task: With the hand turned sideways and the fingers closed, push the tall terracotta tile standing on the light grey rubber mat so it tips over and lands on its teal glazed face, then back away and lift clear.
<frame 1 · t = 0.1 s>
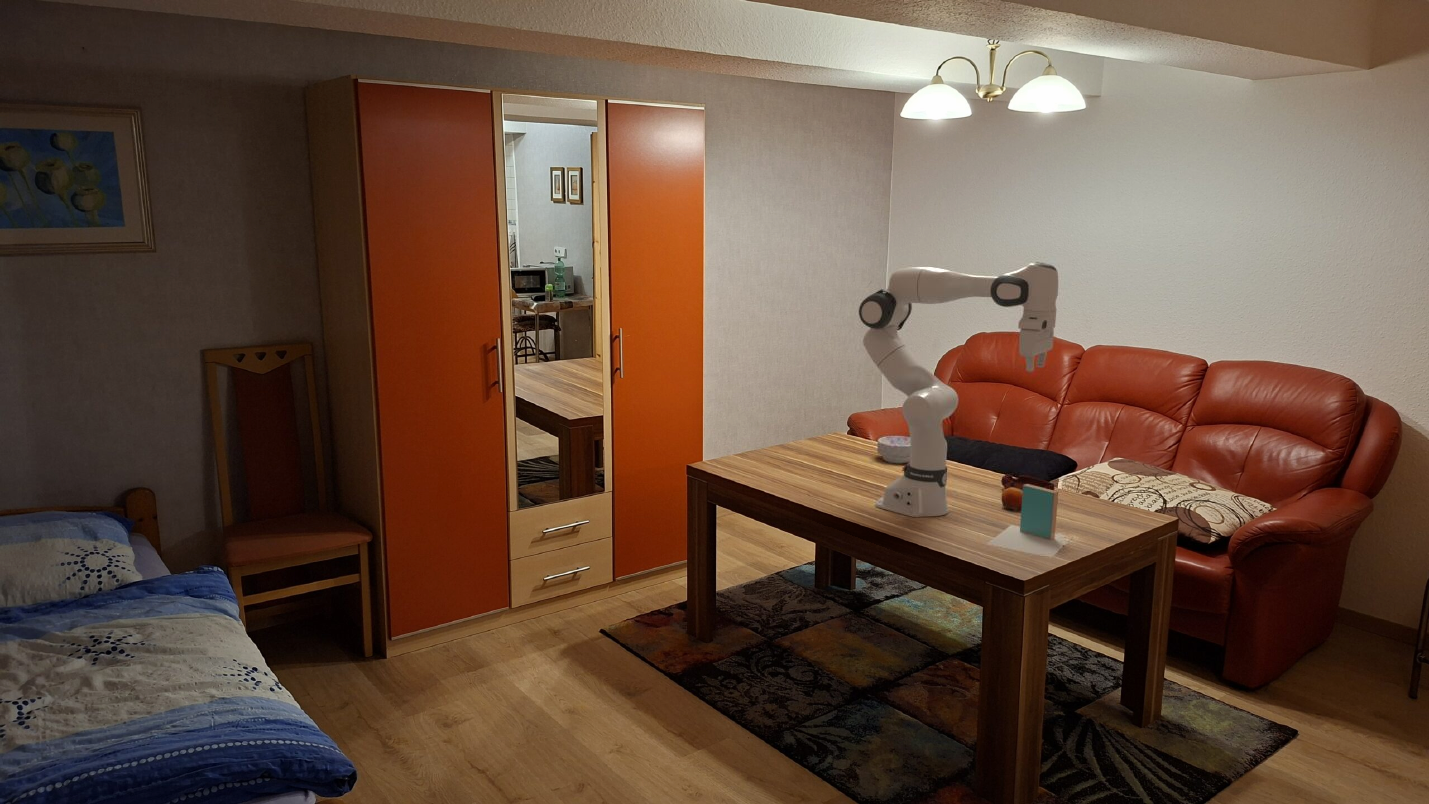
hand: (1035, 368, 273), 48 cm above the table, tool pointing down, fingers open, 8 cm apart
white patterned bowl: (897, 461, 359), on the table
ashtray: (1027, 497, 316), on the table
mat: (1030, 541, 271), on the table
fruit: (1013, 509, 301), on the table
tile: (1036, 534, 276), resting on mat
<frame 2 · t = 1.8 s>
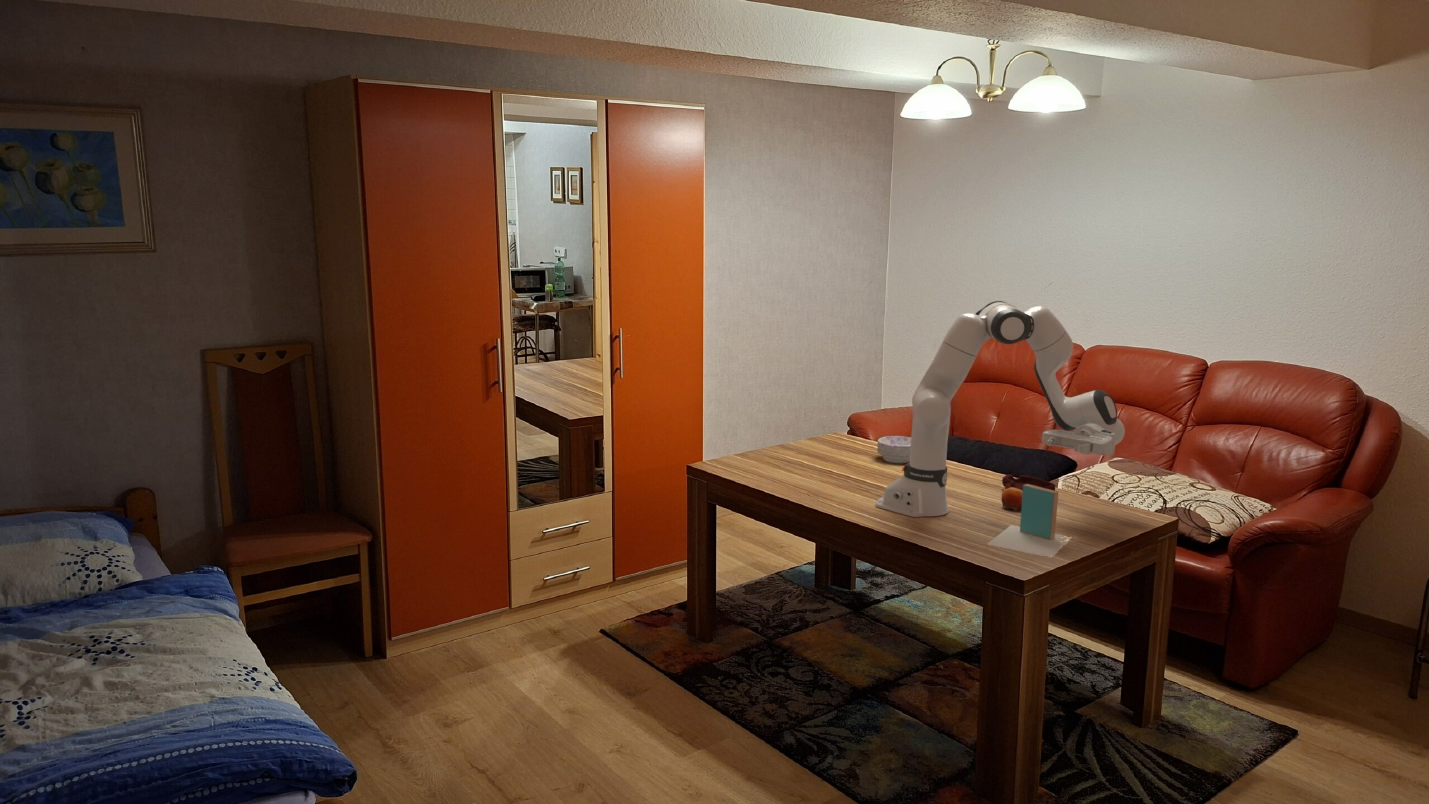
hand: (1062, 446, 277), 25 cm above the table, tool horizontal, fingers open, 7 cm apart
nothing on the table moved.
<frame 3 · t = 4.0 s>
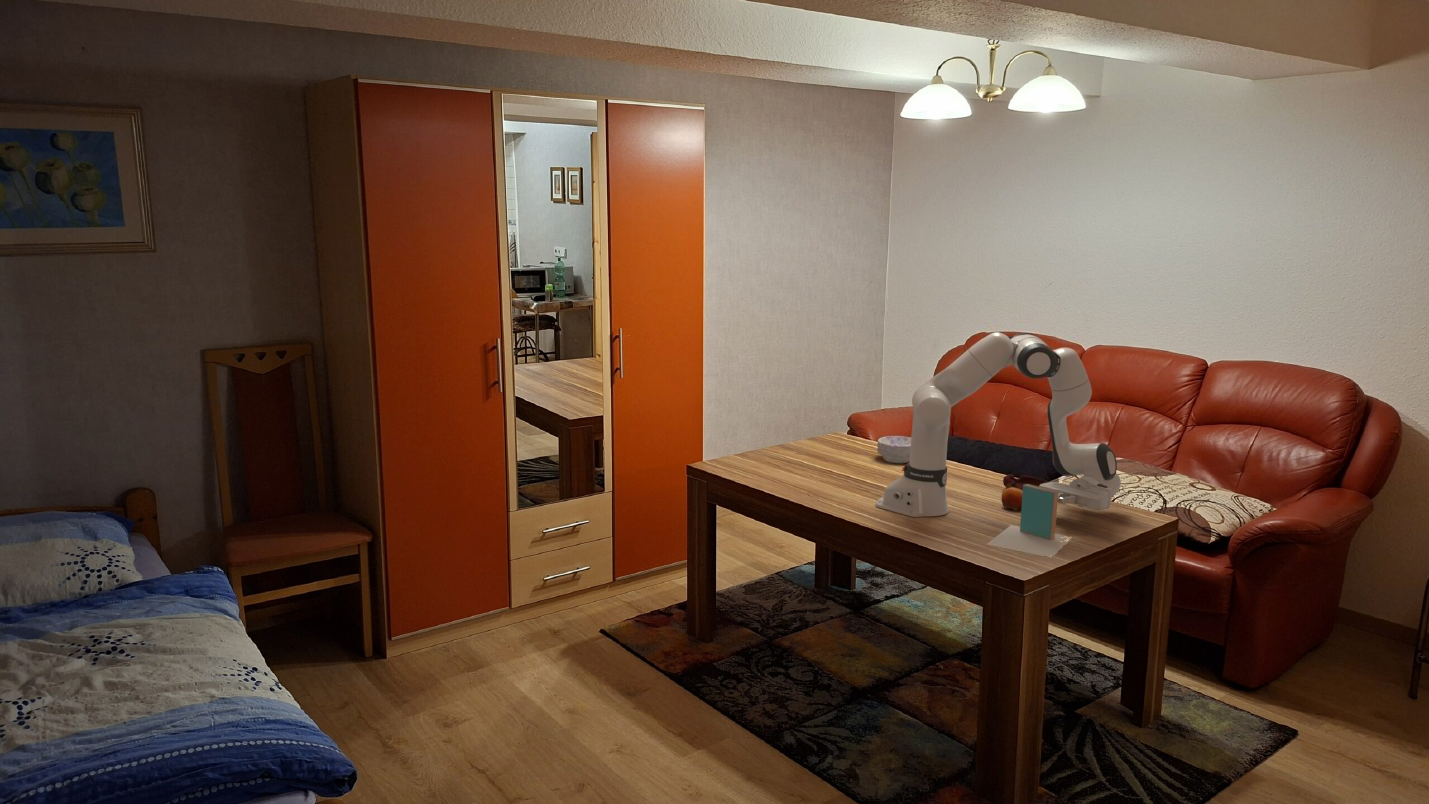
hand: (1059, 500, 280), 9 cm above the table, tool horizontal, fingers closed
nothing on the table moved.
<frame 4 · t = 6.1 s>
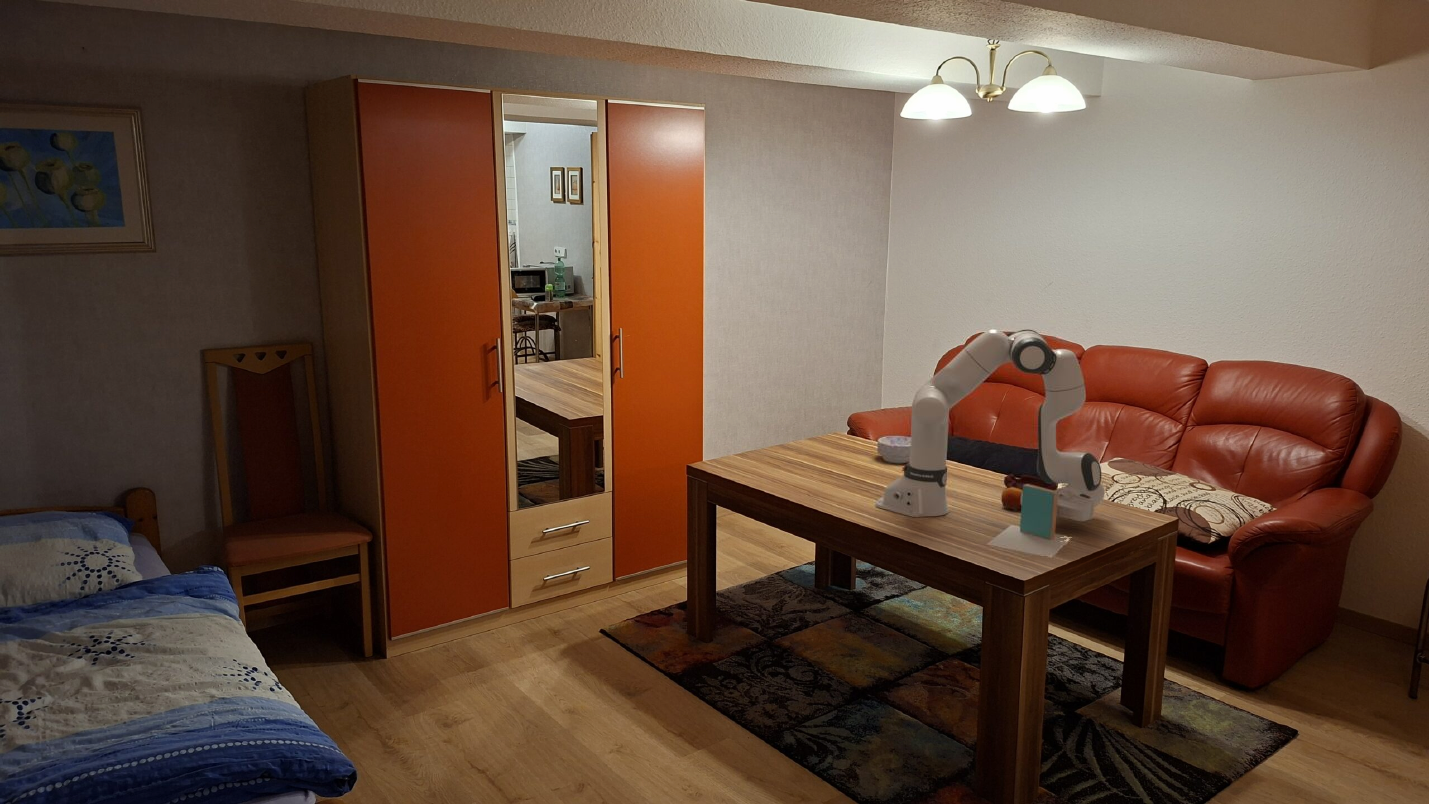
hand: (1040, 510, 275), 7 cm above the table, tool horizontal, fingers closed, pressing on tile
tile: (1036, 534, 276), resting on mat, touching gripper
everything else where it was.
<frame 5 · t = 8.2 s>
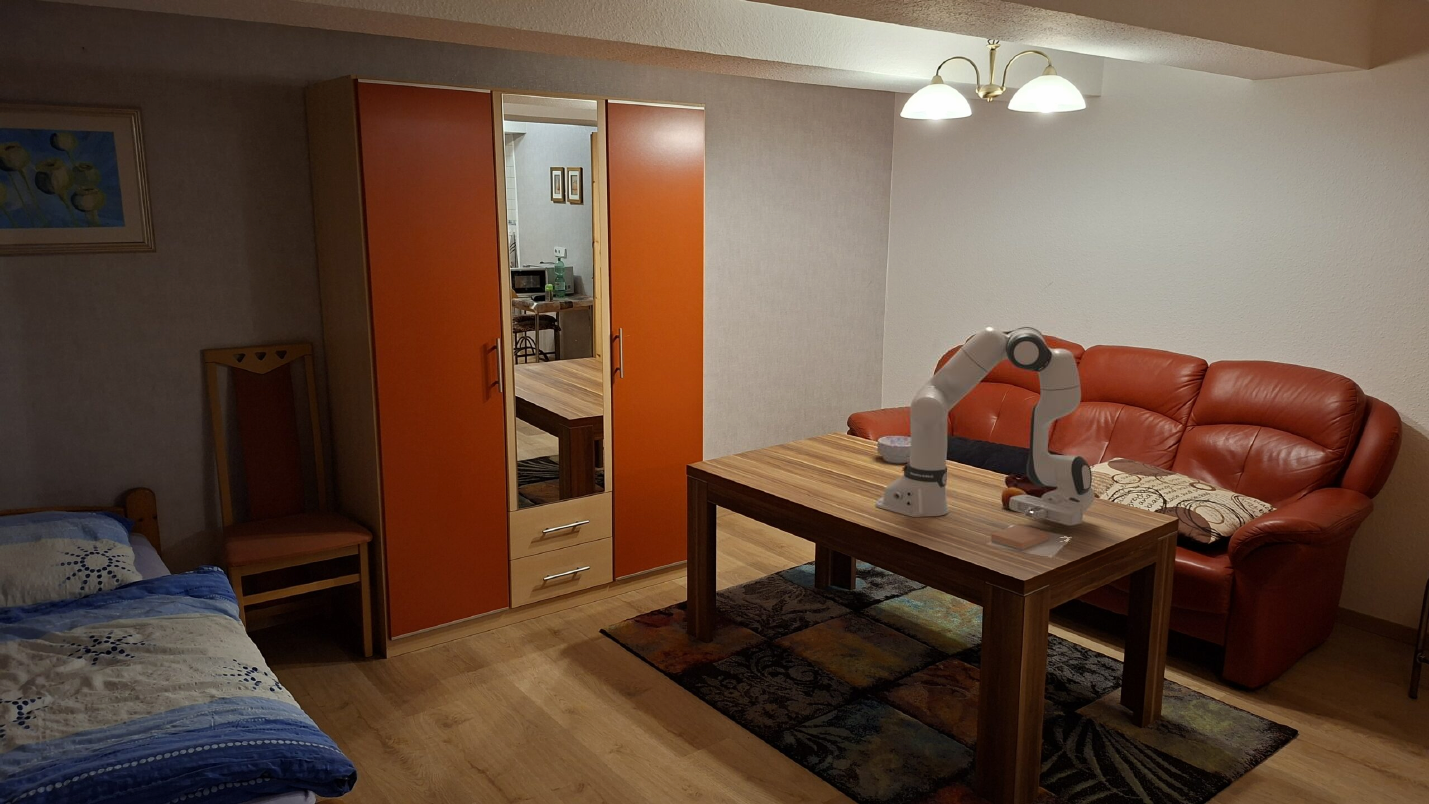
hand: (1029, 514, 271), 8 cm above the table, tool horizontal, fingers closed
tile: (1034, 531, 275), point 2 cm above the table, tilted 90°, touching mat
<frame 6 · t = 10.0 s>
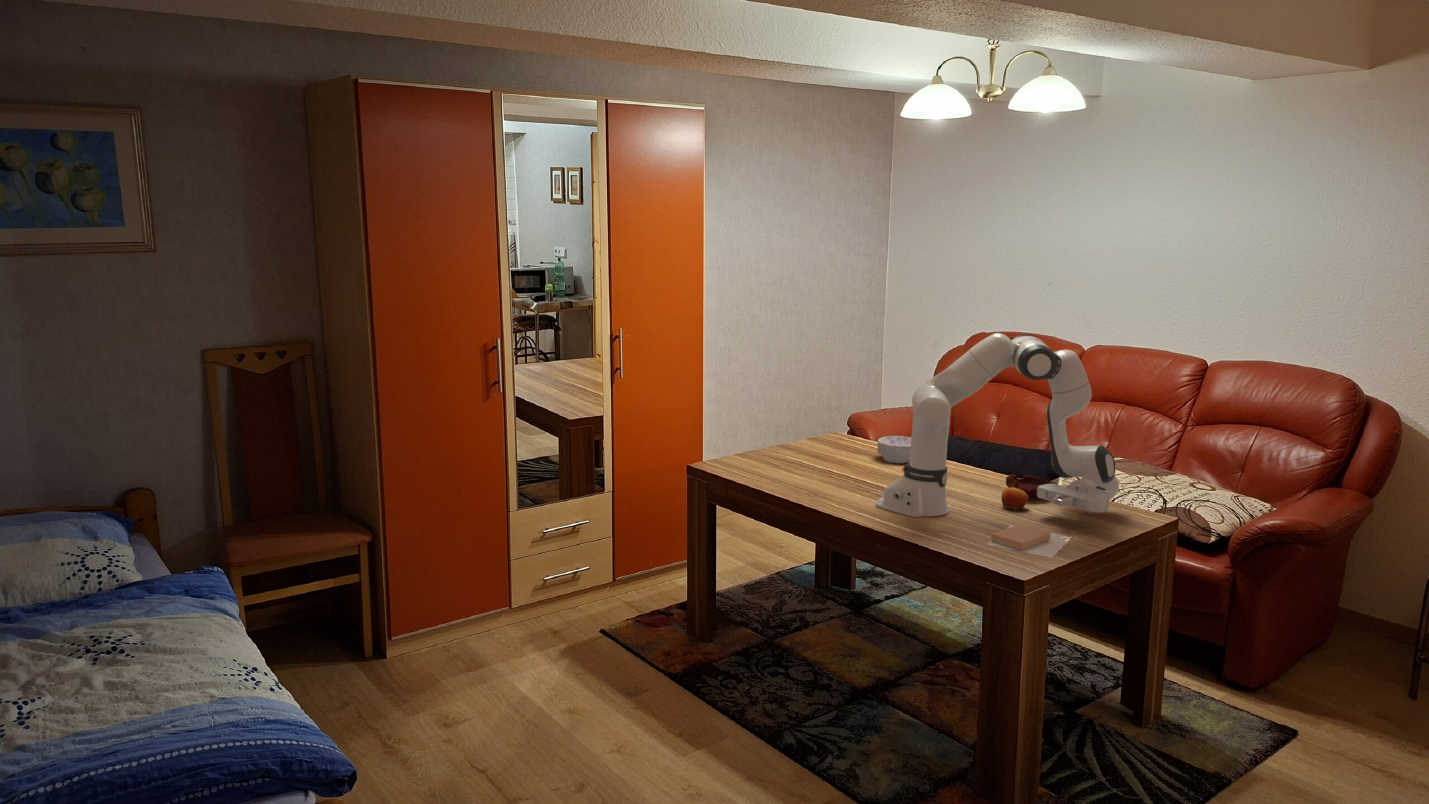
hand: (1057, 502, 280), 8 cm above the table, tool horizontal, fingers closed
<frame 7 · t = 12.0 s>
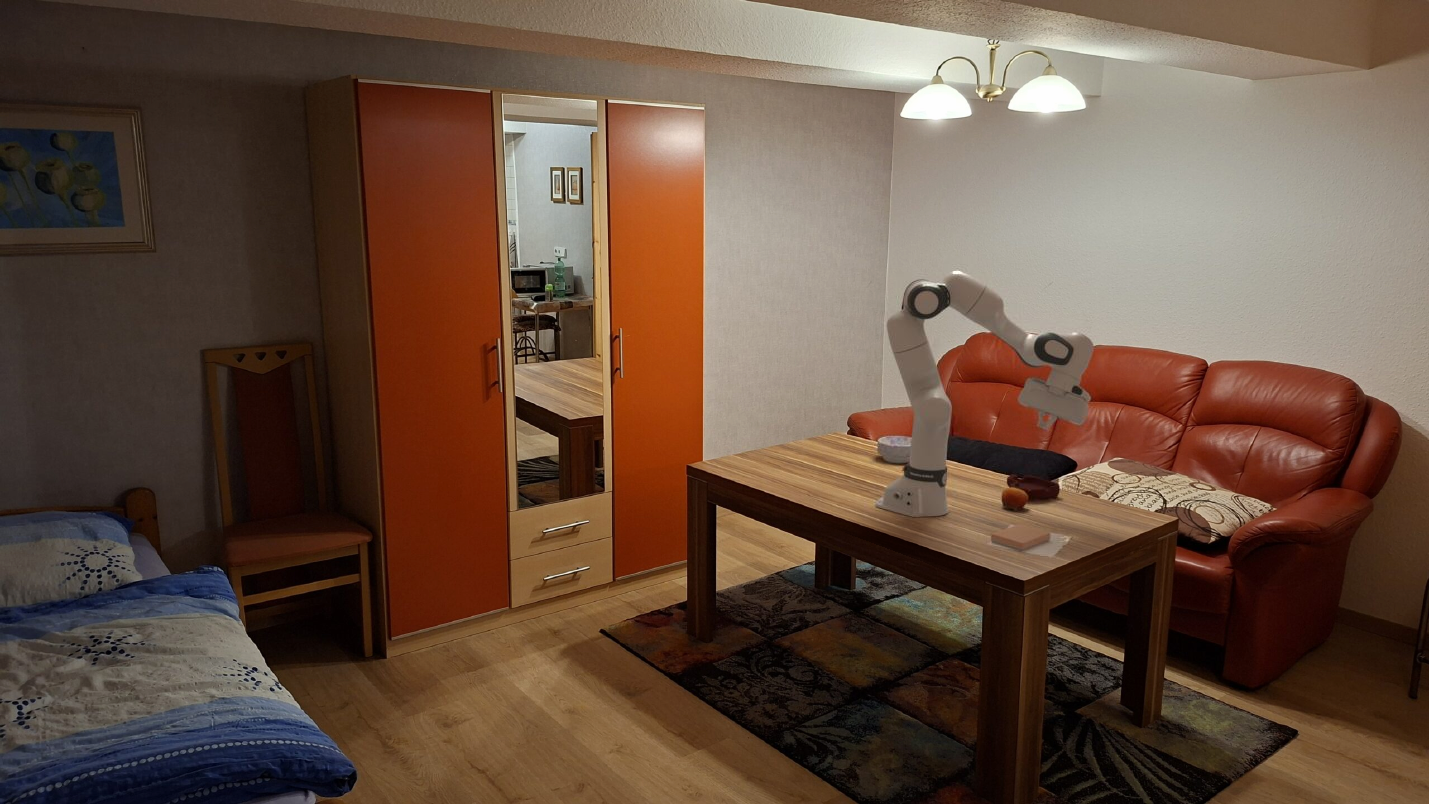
hand: (1042, 427, 285), 29 cm above the table, tool tilted 25°, fingers closed
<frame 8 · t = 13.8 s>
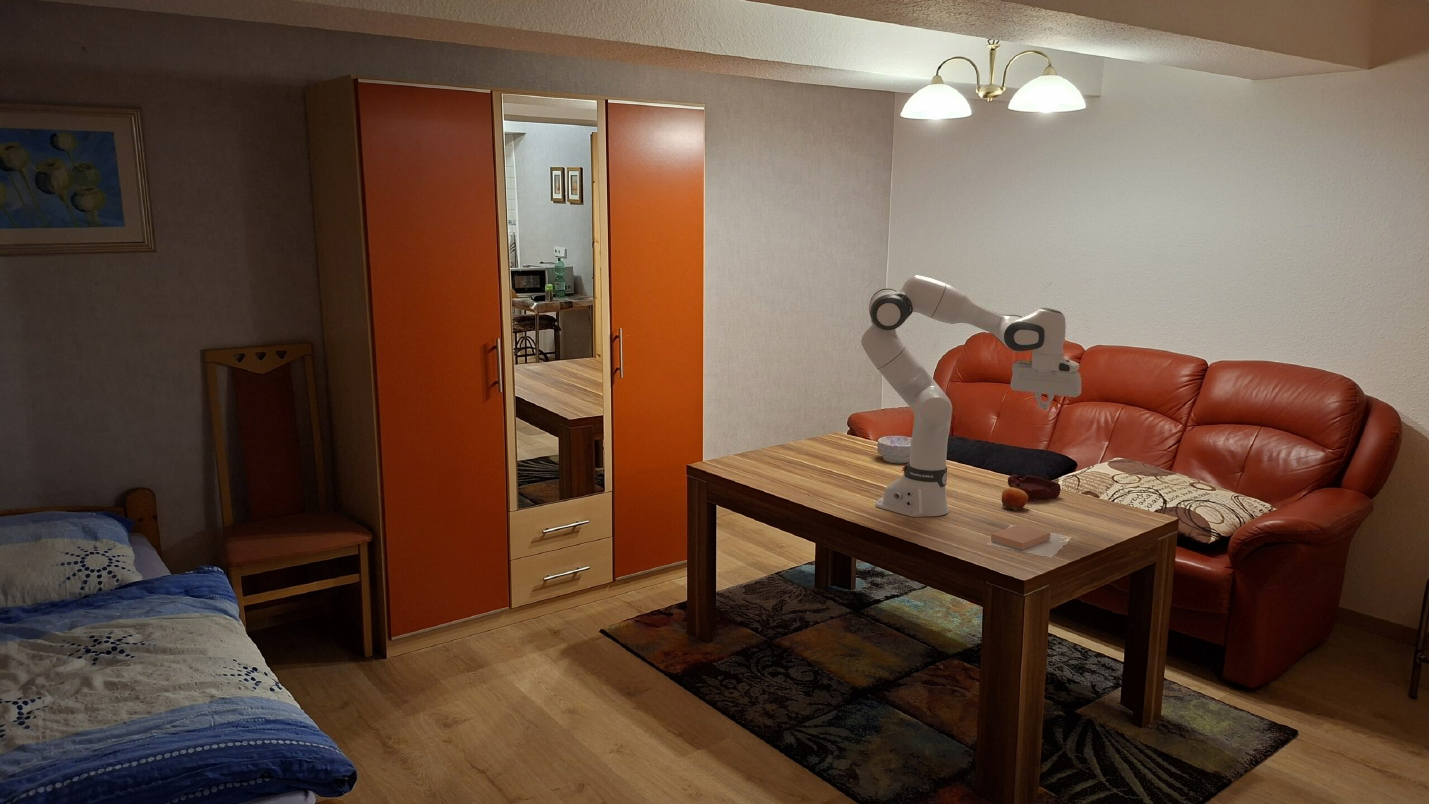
hand: (1043, 408, 287), 34 cm above the table, tool pointing down, fingers closed
at the end: tile tilted 90°; tile inside the target area (0.5 cm from its centre), point 1.7 cm above the table; tile touching mat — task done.
